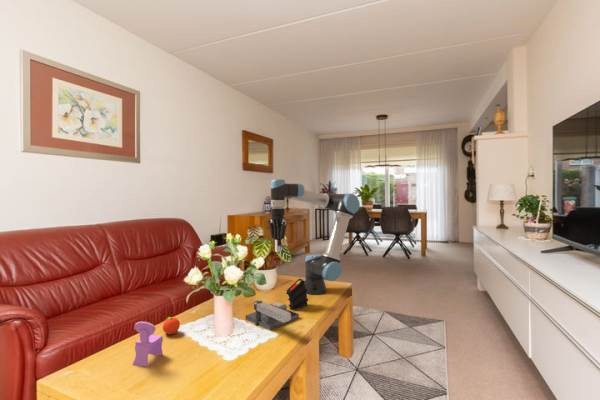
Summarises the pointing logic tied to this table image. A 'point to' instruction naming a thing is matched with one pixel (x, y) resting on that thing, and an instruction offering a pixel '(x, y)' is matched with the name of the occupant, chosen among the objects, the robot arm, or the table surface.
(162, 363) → the table surface
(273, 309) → the swing arm
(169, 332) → the tomato
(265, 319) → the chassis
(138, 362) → the toy chair
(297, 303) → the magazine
